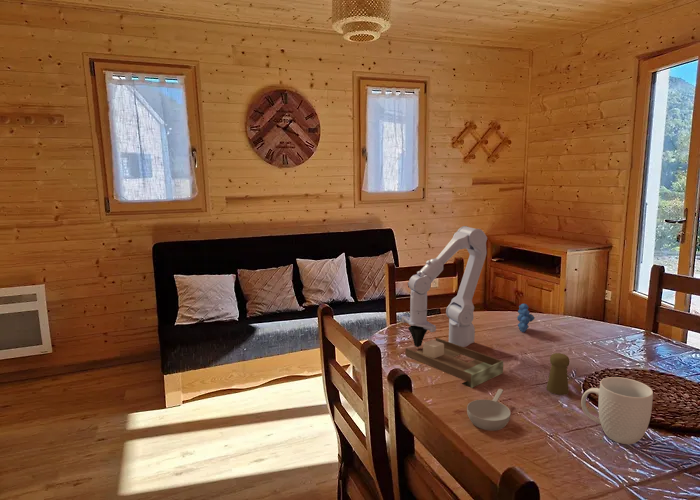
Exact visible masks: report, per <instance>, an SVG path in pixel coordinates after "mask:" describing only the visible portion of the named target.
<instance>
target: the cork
mask: <svg viewBox="0 0 700 500" xmlns="http://www.w3.org/2000/svg"><path fill="white" fill-rule="evenodd" d="M549 362H550V364H551V365H550V371H549V374H548V380H547V383H546V384H547V385H546V391H548V392H549V393H551V394H553V395H558V396H564V395H565V396H566V395H568V394H569V393H570V392H569V391H570V389H569V378H568V367H569V365H570V358H569V356H568V355H567V354H564V353H561V352H555V353H552V354H551V355H550V357H549Z"/></svg>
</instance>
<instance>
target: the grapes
mask: <svg viewBox="0 0 700 500" xmlns="http://www.w3.org/2000/svg"><path fill="white" fill-rule="evenodd" d="M518 308H519V309H518V310H517V313H518V315H517V317H516V318H517V319H516V320H517V321H518V323H517V326H518V329H519V331H520V333H521V332H522V333H525V332H526V331H527V330H528V329H529V327H530V326H529V325H528V324H529V323H530V322H533V321H534V320H535V318H536V317H535V316H534V315H533V314H532V313H531V312H530V311H529V310H528V309H530V307H529V305H528V304H527V303H520V304H519V306H518Z"/></svg>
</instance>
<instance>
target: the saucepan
mask: <svg viewBox="0 0 700 500" xmlns="http://www.w3.org/2000/svg"><path fill="white" fill-rule="evenodd" d="M503 392H504V389H502V388H498V389H497V391H496V393H495V395H494V397H493V398H492V400H491V399H475V400H472V401H470V402H468V404H467V406H466V413H467V416H468V418H469V420H470V422H471V424H472V425H474V427H477V428H479V429H480V430H481V429H482V430H484V431H490V432H491V431H493V432H494V431H495V432H497V431H499V430H502V429H504V428H505V427H506V425H508V423H509V422H510V418H511V410H510V408H509V407H508V406H506V404H503V403H501V402H499V399H500V398H501V396H502V395H503Z"/></svg>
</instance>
